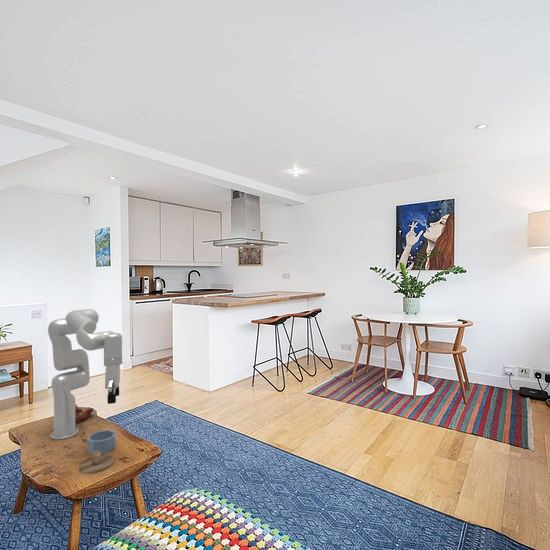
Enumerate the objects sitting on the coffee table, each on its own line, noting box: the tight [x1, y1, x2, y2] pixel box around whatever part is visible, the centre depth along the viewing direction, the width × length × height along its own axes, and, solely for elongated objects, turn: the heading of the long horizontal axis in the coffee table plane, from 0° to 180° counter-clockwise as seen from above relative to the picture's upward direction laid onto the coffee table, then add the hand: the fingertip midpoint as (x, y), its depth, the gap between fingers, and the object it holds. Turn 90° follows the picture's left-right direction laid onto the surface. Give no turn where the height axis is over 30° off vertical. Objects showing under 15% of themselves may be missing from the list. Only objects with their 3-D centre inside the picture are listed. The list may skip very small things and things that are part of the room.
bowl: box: [86, 429, 117, 455], centre depth 166 cm, size 12×12×6 cm
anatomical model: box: [75, 404, 94, 424], centre depth 198 cm, size 11×13×15 cm
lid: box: [77, 451, 115, 475], centre depth 152 cm, size 14×14×6 cm
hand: (113, 399), depth 155 cm, fingers open, 9 cm apart
